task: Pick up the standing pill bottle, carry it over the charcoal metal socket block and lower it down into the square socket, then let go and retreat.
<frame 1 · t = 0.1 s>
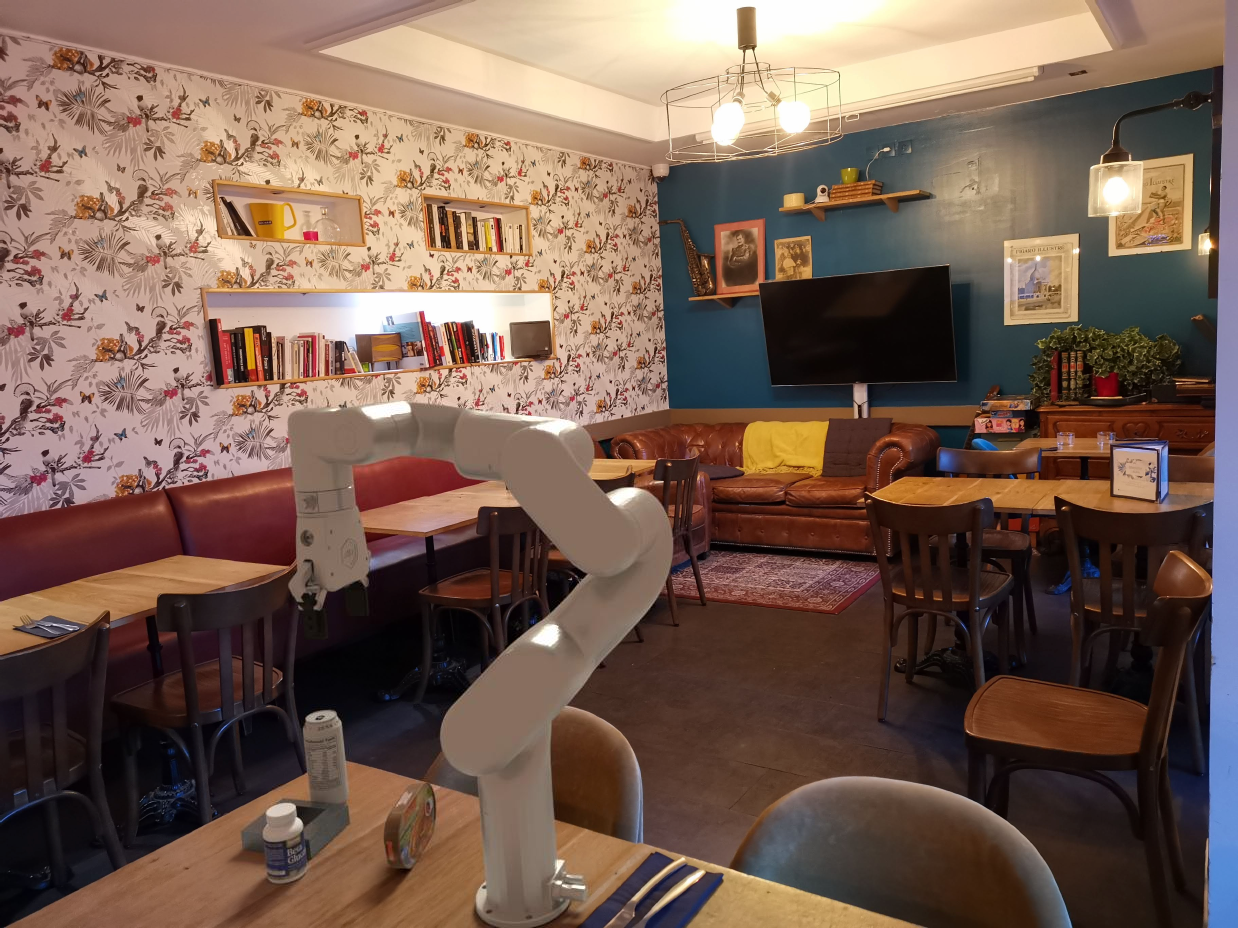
hand: (338, 626, 120), 37 cm above the table, tool pointing down, fingers open, 9 cm apart
pill bottle: (288, 874, 127), on the table
tin: (413, 851, 132), on the table
socket block: (297, 835, 137), on the table
energy drink can: (330, 803, 147), on the table
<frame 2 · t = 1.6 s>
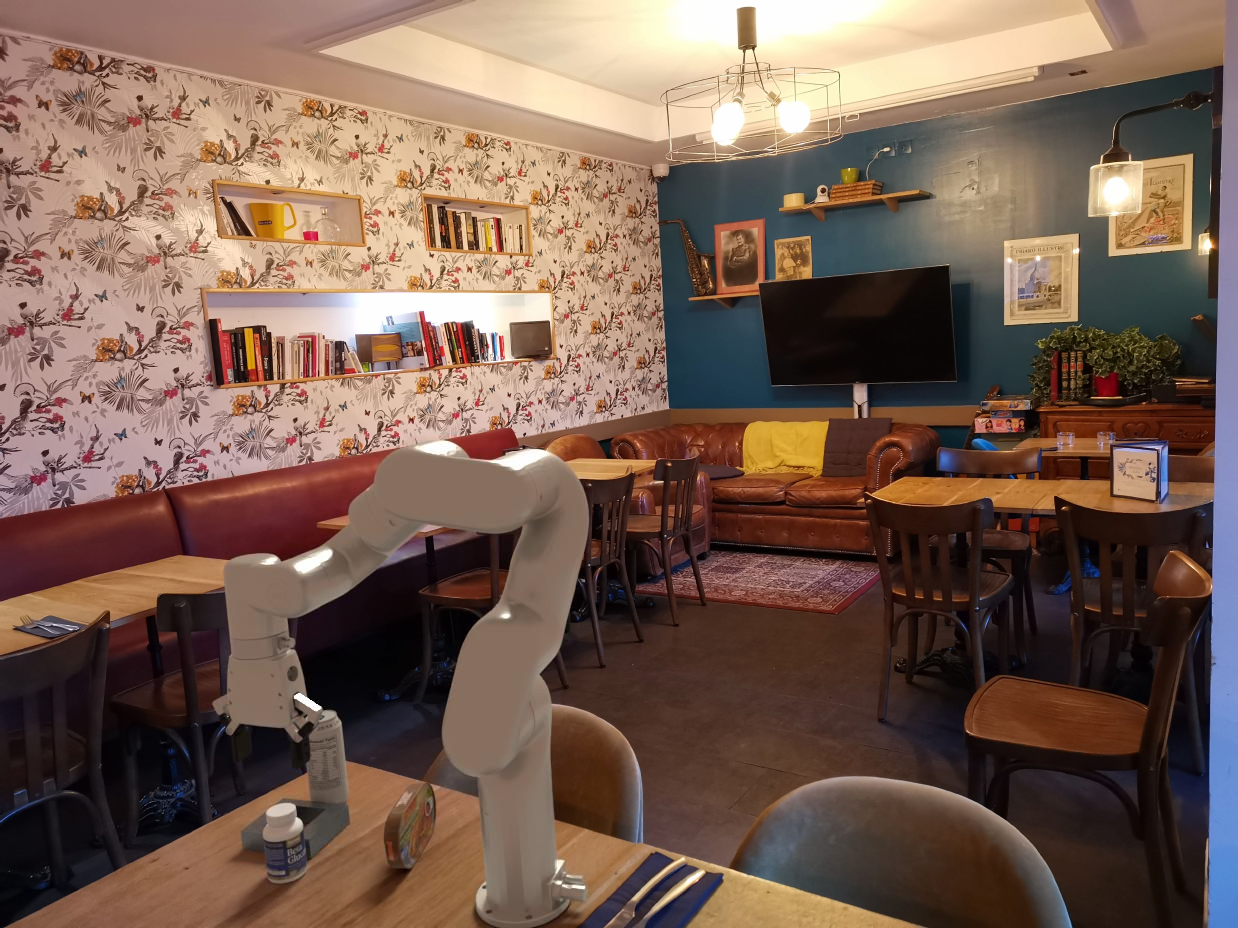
hand: (272, 761, 125), 17 cm above the table, tool pointing down, fingers open, 9 cm apart
nothing on the table moved.
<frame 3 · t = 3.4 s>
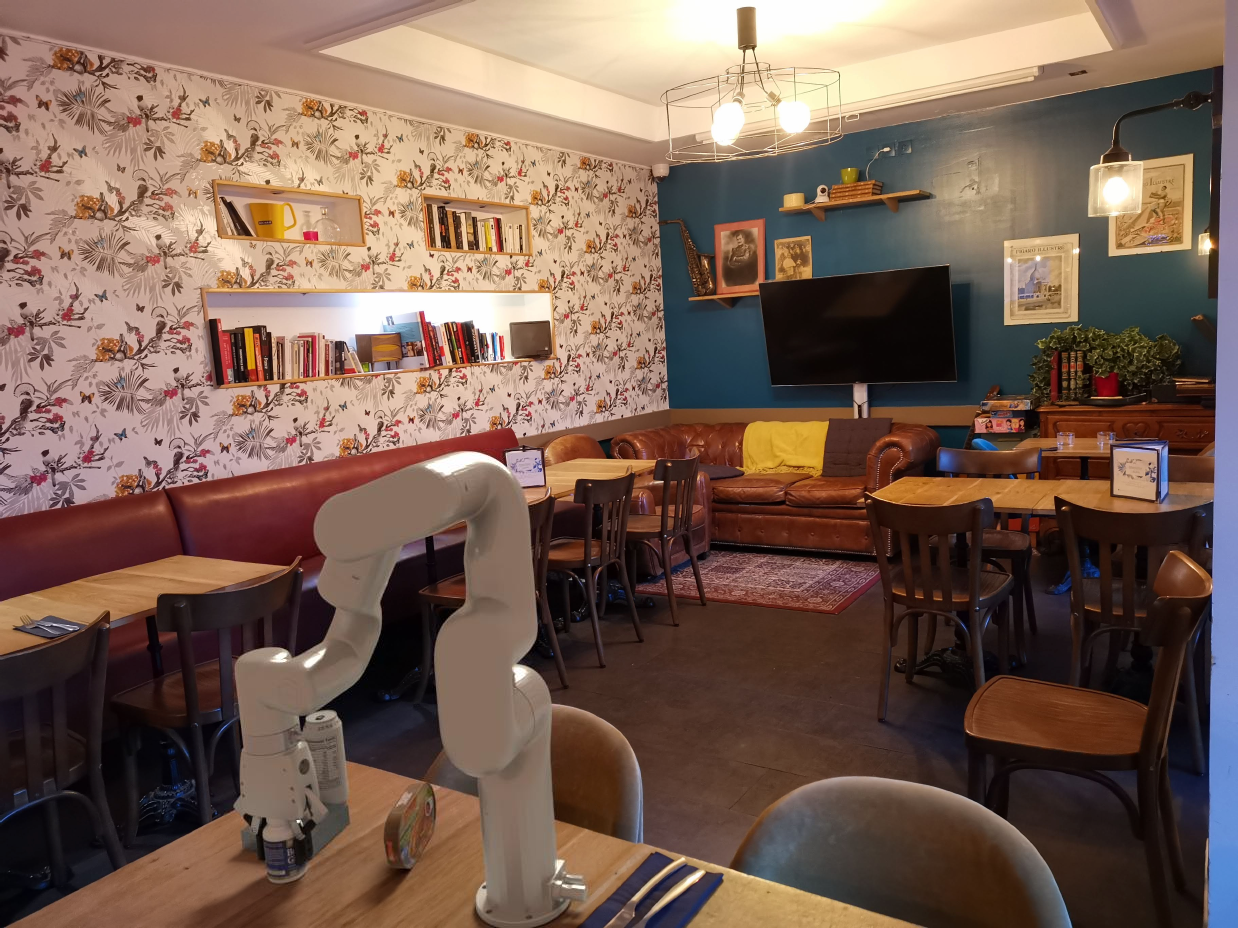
hand: (286, 856, 127), 3 cm above the table, tool pointing down, fingers closed on pill bottle, 5 cm apart
pill bottle: (288, 874, 127), on the table, touching gripper
everything else where it was.
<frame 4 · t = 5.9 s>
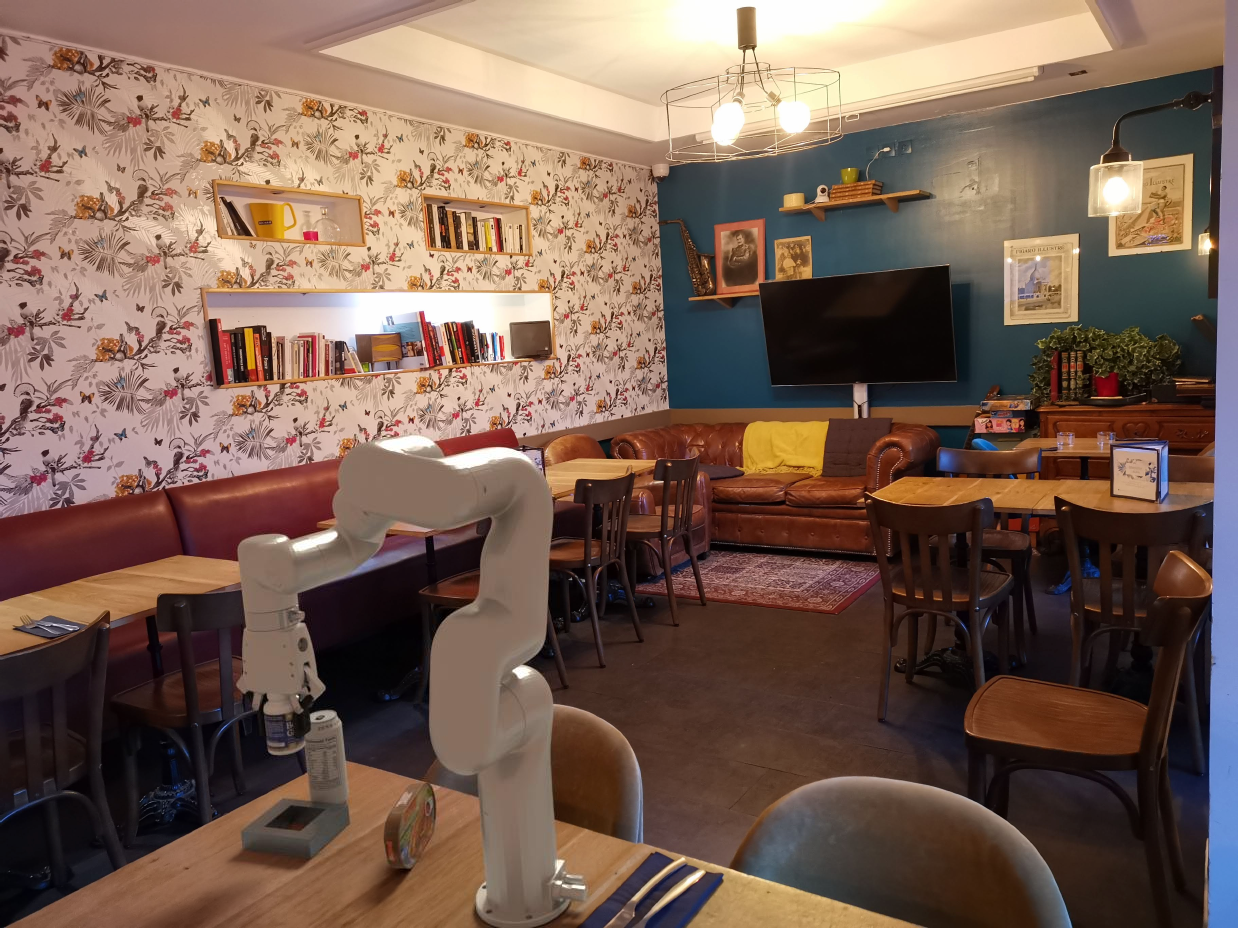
hand: (285, 732, 135), 17 cm above the table, tool pointing down, fingers closed on pill bottle, 5 cm apart
pill bottle: (287, 749, 135), point 14 cm above the table, touching gripper
everything else where it was.
when the fingers open (4 cm above the table, at t = 8.3 s): pill bottle drops 1 cm, resting in socket block.
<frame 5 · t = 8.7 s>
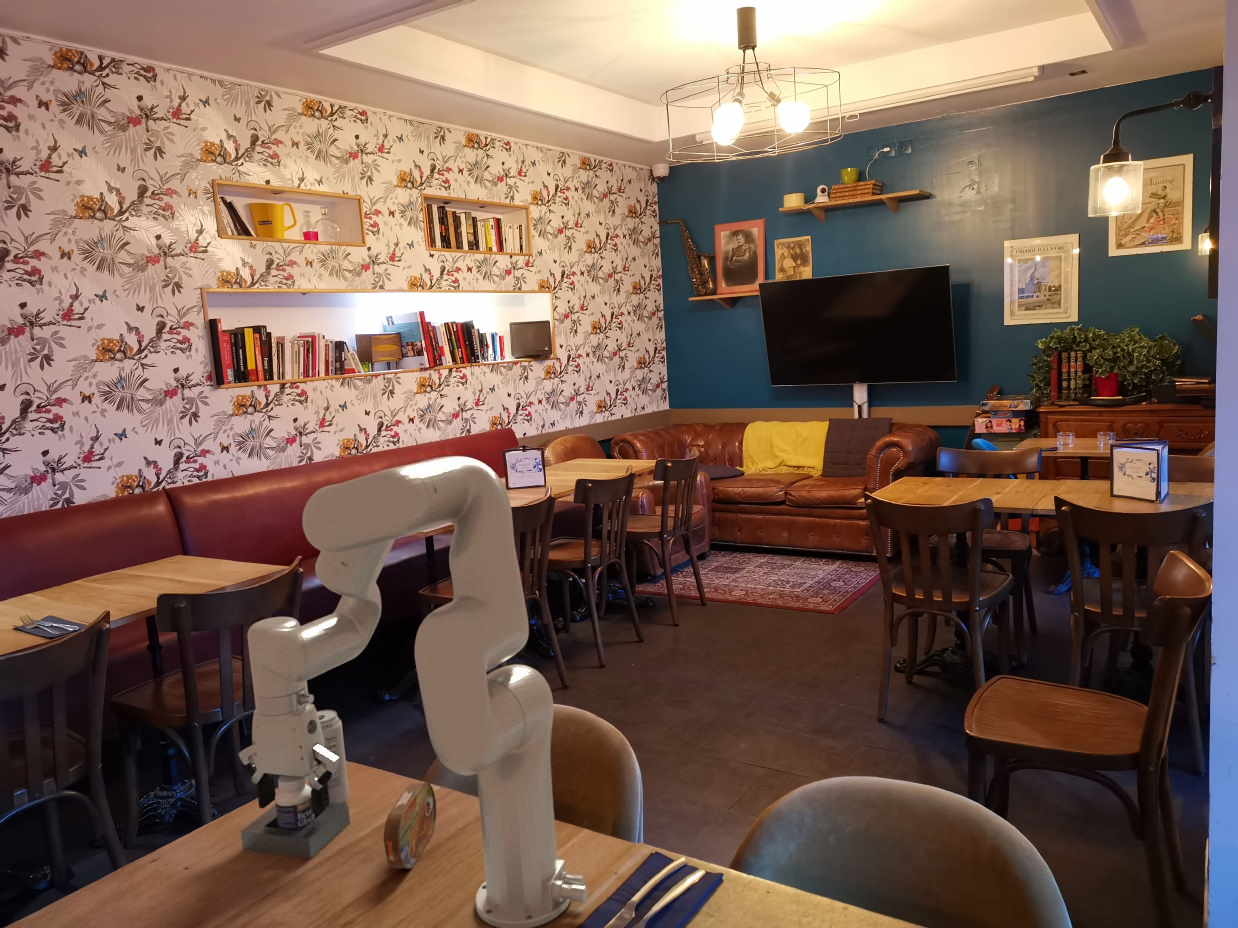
hand: (294, 806, 137), 5 cm above the table, tool pointing down, fingers open, 9 cm apart
pill bottle: (298, 837, 137), resting in socket block
everything else where it was.
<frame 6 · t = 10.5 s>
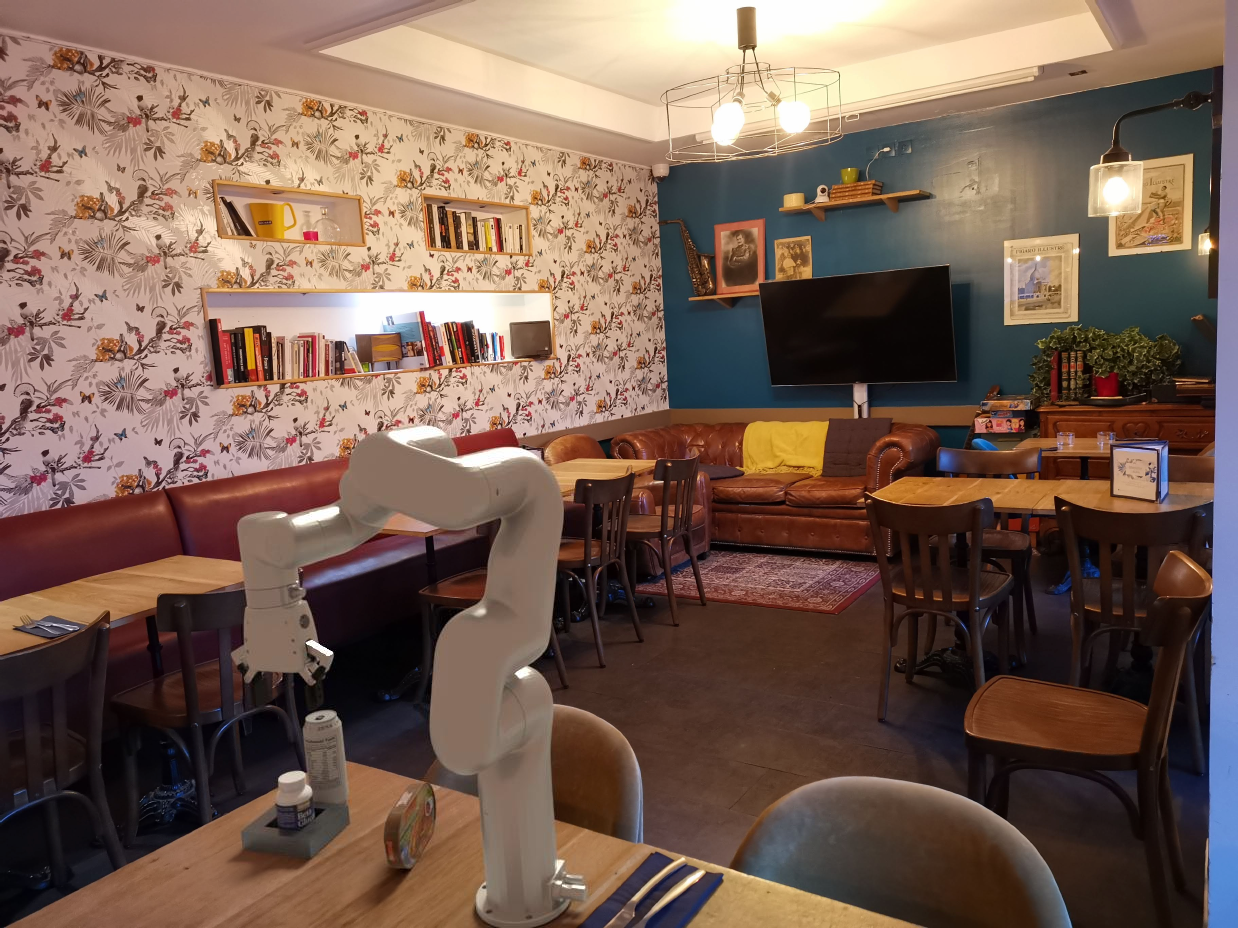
hand: (288, 706, 134), 21 cm above the table, tool pointing down, fingers open, 9 cm apart
nothing on the table moved.
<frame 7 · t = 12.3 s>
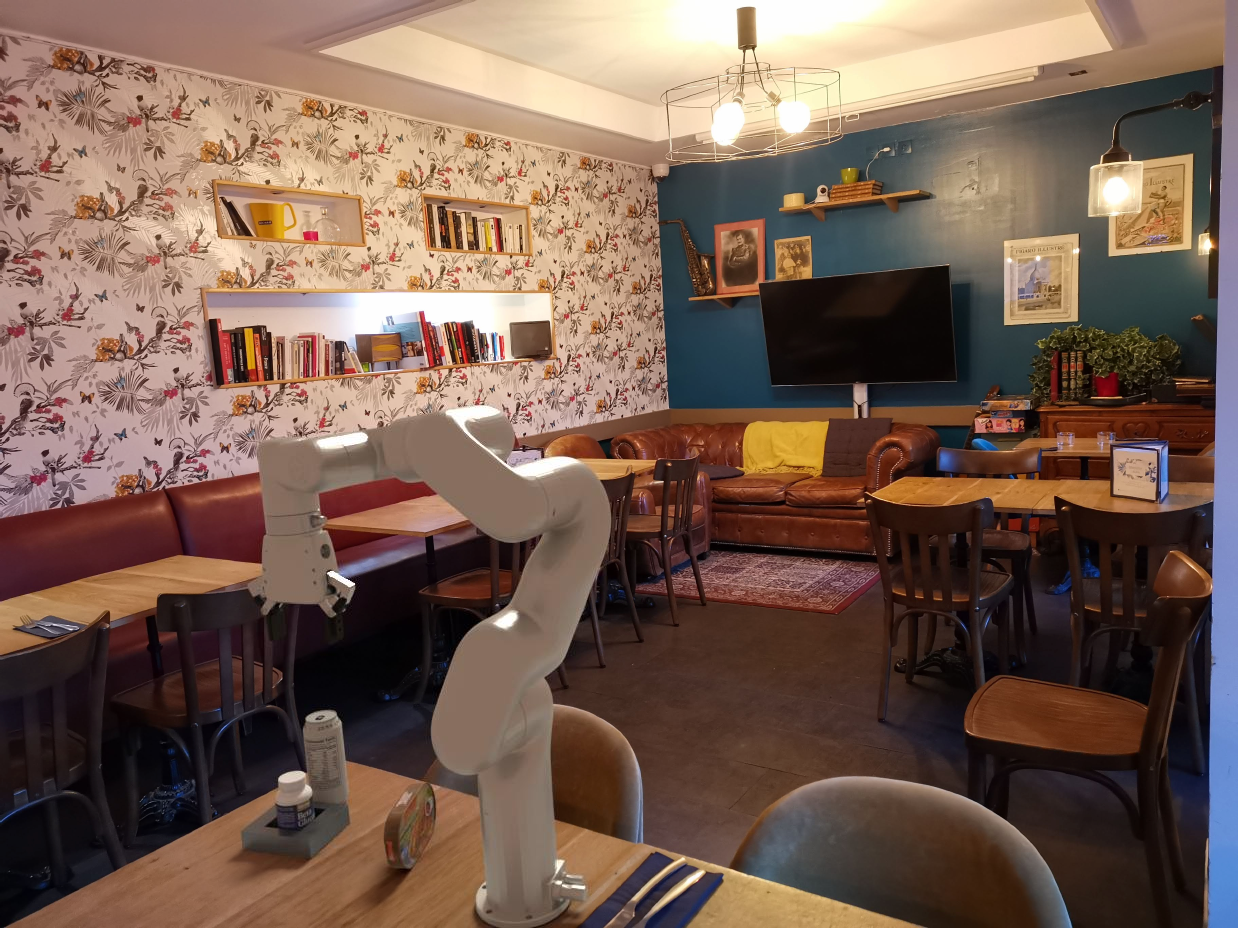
hand: (306, 639, 129), 32 cm above the table, tool pointing down, fingers open, 9 cm apart
nothing on the table moved.
at the end: pill bottle 0.1 cm off-centre on the socket block, point 0.0 cm above the socket block's base; pill bottle tilted 0°; the gripper is holding nothing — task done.
